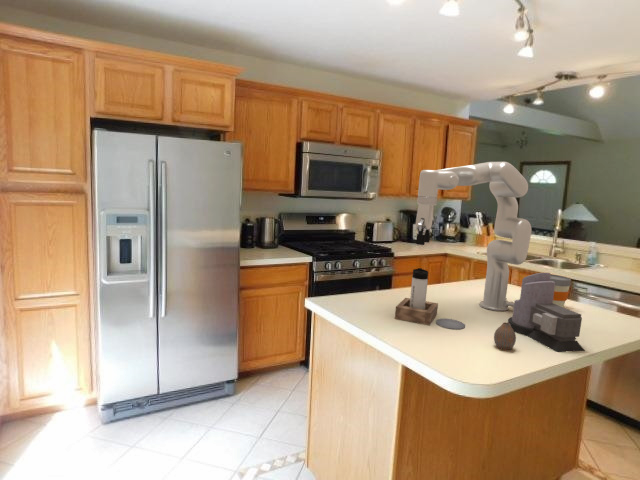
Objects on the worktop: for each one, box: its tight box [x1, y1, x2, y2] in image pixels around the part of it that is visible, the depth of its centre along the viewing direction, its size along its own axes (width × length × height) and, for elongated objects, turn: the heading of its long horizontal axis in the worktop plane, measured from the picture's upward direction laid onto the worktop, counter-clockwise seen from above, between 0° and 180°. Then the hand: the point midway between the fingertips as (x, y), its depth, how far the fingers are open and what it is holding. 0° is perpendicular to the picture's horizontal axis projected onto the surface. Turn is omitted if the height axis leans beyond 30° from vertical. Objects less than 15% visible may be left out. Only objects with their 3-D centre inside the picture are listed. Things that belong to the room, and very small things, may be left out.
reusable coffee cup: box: [550, 274, 572, 308], centre depth 195 cm, size 12×13×15 cm
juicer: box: [507, 272, 585, 353], centre depth 156 cm, size 30×16×24 cm, turn 12°
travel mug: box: [410, 267, 429, 310], centre depth 170 cm, size 6×7×20 cm
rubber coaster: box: [435, 318, 466, 331], centre depth 164 cm, size 11×11×1 cm
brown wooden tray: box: [394, 297, 439, 326], centre depth 171 cm, size 14×16×5 cm
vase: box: [493, 322, 517, 351], centre depth 142 cm, size 7×7×9 cm
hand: (422, 243), depth 167 cm, fingers open, 9 cm apart
